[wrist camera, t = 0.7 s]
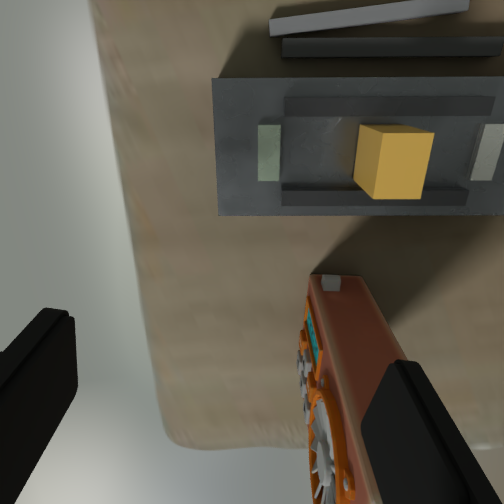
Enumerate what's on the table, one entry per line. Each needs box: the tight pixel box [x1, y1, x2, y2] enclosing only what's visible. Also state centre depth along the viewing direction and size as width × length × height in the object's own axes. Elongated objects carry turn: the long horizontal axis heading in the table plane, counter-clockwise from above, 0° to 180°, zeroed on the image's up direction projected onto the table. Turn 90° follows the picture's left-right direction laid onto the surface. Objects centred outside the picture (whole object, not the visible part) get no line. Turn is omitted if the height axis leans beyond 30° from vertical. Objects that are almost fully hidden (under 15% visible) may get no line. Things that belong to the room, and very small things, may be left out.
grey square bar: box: [269, 0, 470, 37], centre depth 25 cm, size 14×1×1 cm, turn 96°
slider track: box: [212, 76, 504, 216], centre depth 27 cm, size 24×10×5 cm, turn 90°
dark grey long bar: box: [281, 37, 504, 58], centre depth 26 cm, size 16×1×1 cm, turn 90°
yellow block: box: [353, 124, 435, 199], centre depth 23 cm, size 3×4×5 cm
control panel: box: [297, 274, 407, 504], centre depth 28 cm, size 21×7×15 cm
